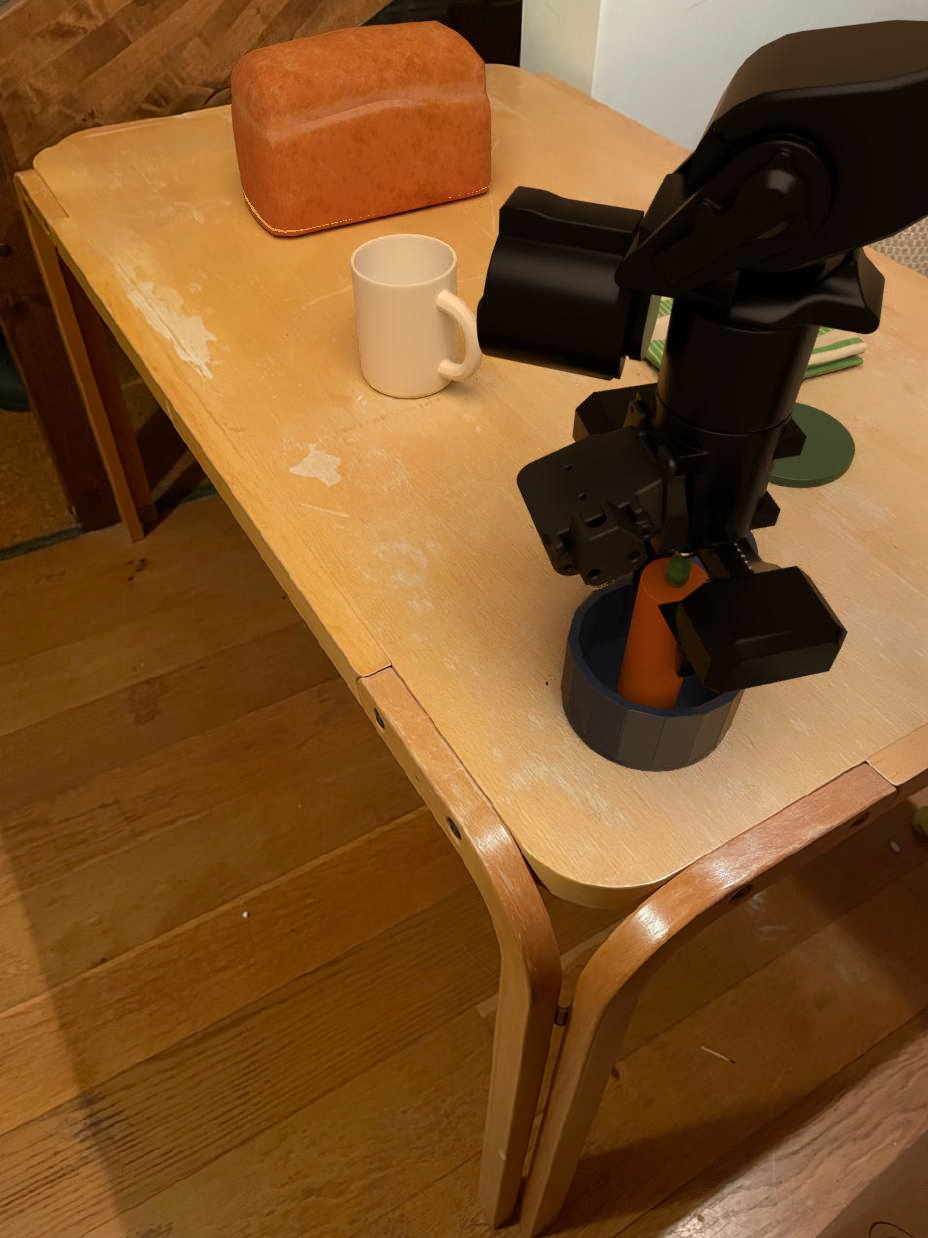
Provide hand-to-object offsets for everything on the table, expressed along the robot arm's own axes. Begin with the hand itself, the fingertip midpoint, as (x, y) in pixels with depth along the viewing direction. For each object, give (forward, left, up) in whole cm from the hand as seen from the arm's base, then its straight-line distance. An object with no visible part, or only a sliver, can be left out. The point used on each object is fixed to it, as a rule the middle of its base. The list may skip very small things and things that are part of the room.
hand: (663, 630), depth 49 cm
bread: (+40, -60, -7) cm, 72 cm away
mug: (+23, -28, -7) cm, 37 cm away
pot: (0, 0, -6) cm, 6 cm away
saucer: (-7, -28, -6) cm, 29 cm away
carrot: (0, 0, -6) cm, 6 cm away
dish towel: (+1, -44, -7) cm, 44 cm away
